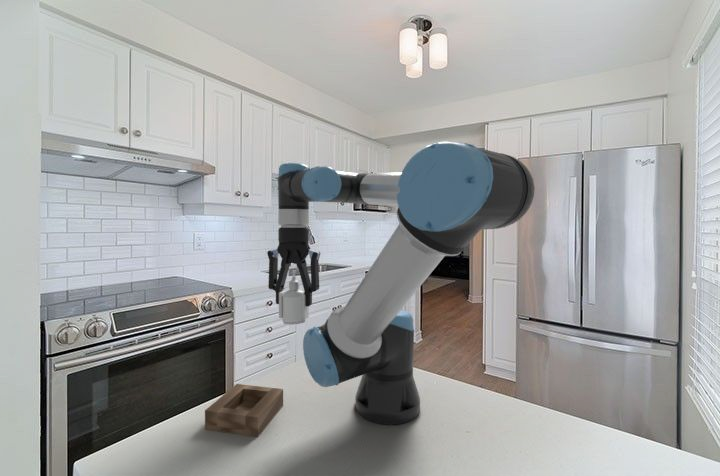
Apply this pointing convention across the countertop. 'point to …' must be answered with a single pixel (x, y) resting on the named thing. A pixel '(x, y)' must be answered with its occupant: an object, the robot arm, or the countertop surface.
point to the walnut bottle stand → (244, 410)
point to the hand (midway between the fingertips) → (293, 317)
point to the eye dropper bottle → (292, 304)
